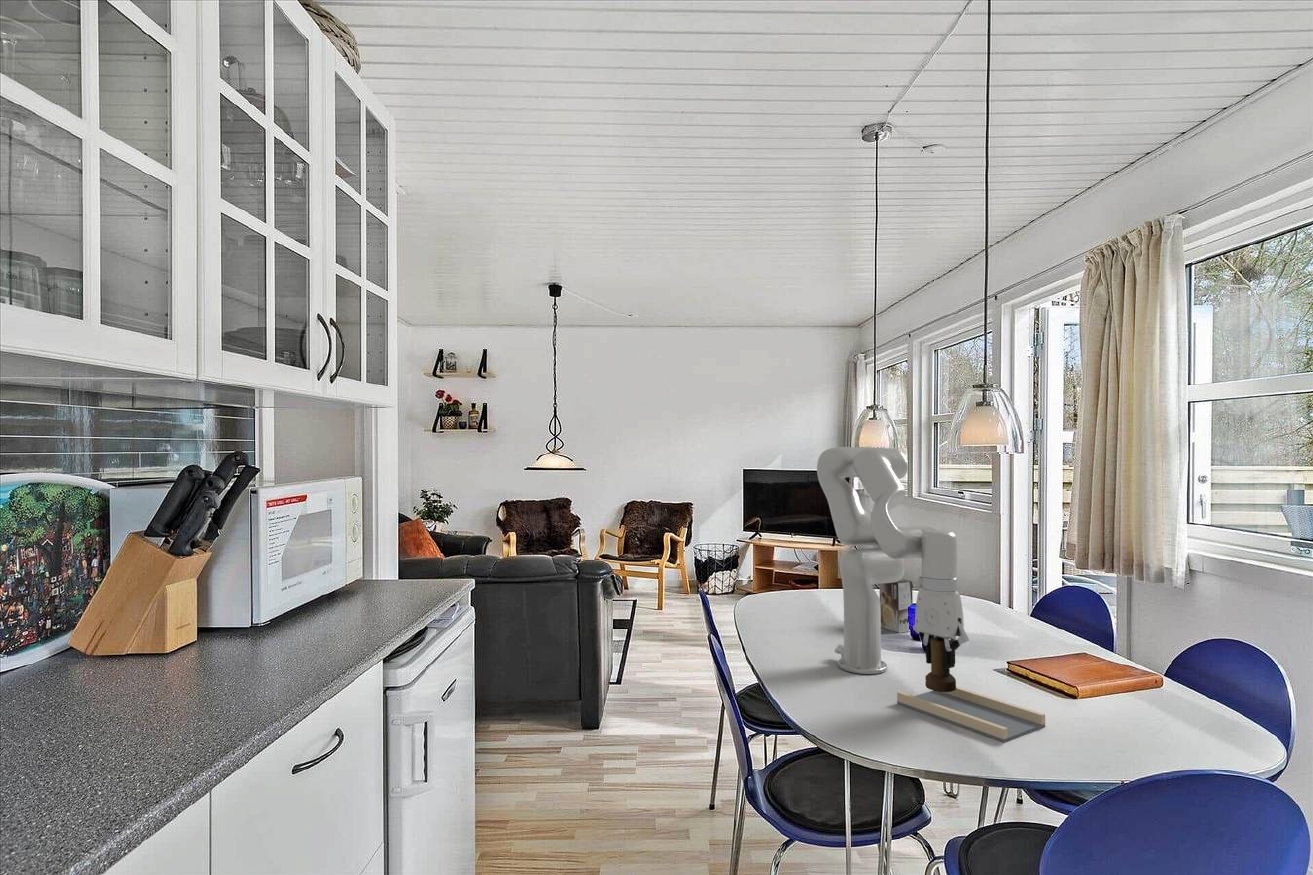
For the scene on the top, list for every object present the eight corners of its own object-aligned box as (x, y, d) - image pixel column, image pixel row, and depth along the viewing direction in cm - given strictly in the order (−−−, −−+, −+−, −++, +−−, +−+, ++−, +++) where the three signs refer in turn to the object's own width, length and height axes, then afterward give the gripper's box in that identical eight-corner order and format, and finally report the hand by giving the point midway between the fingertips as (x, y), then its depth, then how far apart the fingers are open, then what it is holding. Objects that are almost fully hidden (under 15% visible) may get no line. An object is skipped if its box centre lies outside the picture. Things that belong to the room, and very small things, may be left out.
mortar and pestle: (919, 684, 167) (918, 606, 167) (941, 681, 169) (940, 604, 170) (939, 693, 161) (938, 612, 161) (962, 690, 163) (961, 610, 163)
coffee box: (914, 631, 231) (913, 581, 231) (898, 633, 228) (898, 582, 229) (893, 624, 240) (893, 576, 240) (878, 626, 237) (878, 577, 237)
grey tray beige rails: (897, 703, 166) (897, 692, 166) (938, 691, 174) (938, 680, 174) (1004, 742, 144) (1003, 729, 144) (1045, 726, 152) (1045, 714, 152)
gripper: (898, 581, 171) (899, 658, 170) (962, 592, 156) (963, 677, 156) (919, 577, 175) (919, 654, 174) (982, 588, 161) (983, 671, 160)
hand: (940, 664), depth 165 cm, fingers closed on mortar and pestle, 3 cm apart
